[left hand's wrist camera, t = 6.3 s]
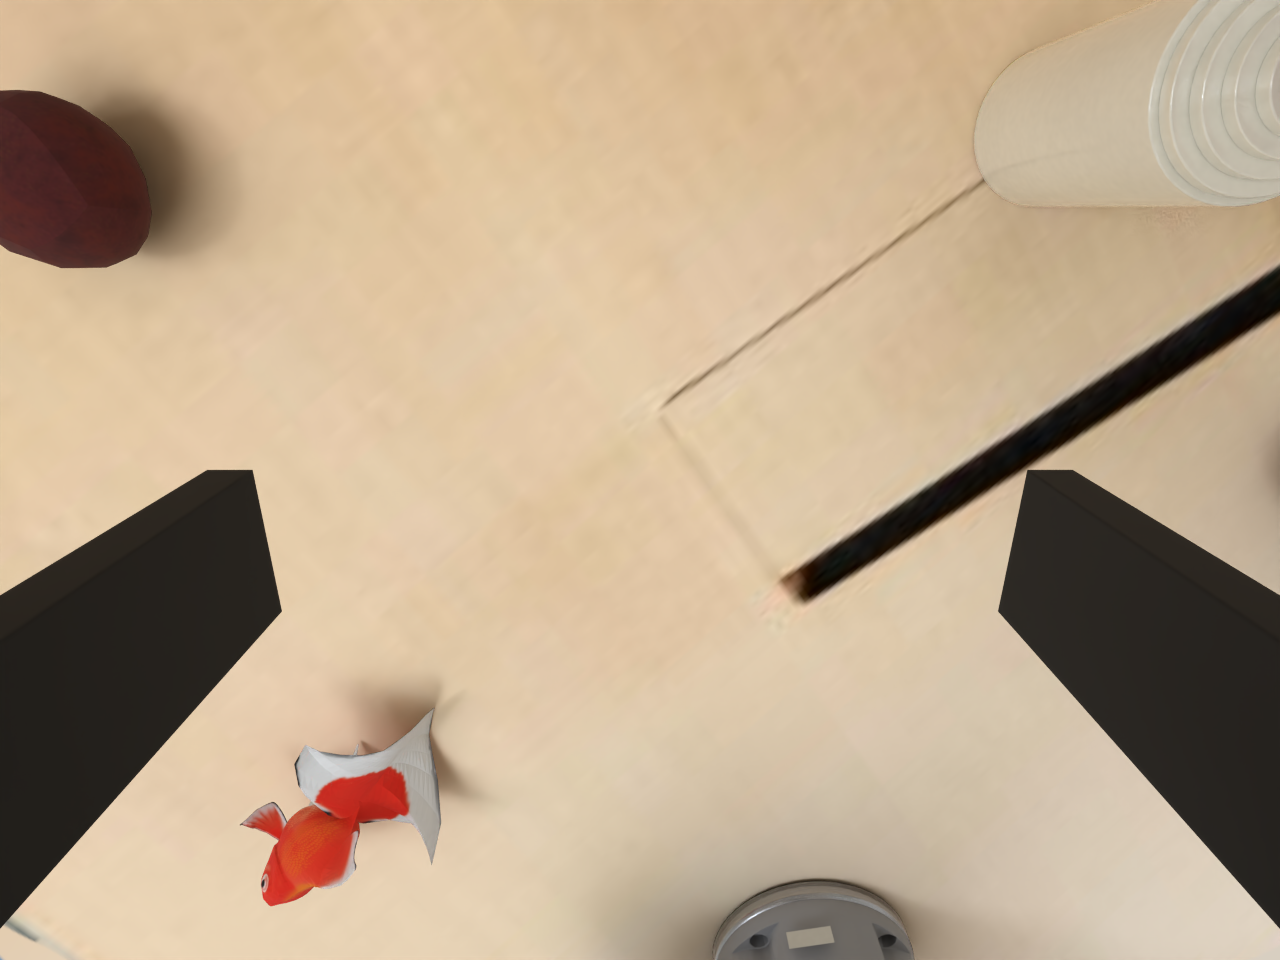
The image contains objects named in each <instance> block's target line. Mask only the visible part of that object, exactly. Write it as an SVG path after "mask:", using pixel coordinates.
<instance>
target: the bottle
mask: <svg viewBox="0 0 1280 960" xmlns="http://www.w3.org/2000/svg"><path fill="white" fill-rule="evenodd" d="M974 151H975V157H976V162H977V165H978V168H979V170H980V173H981V175H982V176H983V178H984V180H985V181H986V183H987V184H988V186H989V187H990V188H991V189H992V190H993V191H994V192H995V193H996V194H997V195H999V196H1000V197H1001V198H1003V199H1005V200H1007V201H1009V202H1010V203H1013V204H1016V205H1020V206H1025V207H1238V206H1247V205H1252V204H1256V203H1261V202H1264V201H1267V200H1270V199H1273V198H1275V197H1278V196H1280V0H1155V1H1152V2H1150V3H1147V4H1145V5H1142V6H1140V7H1137V8H1135V9H1132V10H1130V11H1127V12H1125V13H1122V14H1120V15H1117V16H1115V17H1112V18H1110V19H1107V20H1105V21H1102V22H1100V23H1098V24H1095V25H1093V26H1090V27H1088V28H1085V29H1083V30H1080V31H1078V32H1075V33H1073V34H1070V35H1068V36H1065V37H1063V38H1060V39H1058V40H1055V41H1053V42H1050V43H1048V44H1045V45H1043V46H1040V47H1038V48H1036V49H1033V50H1031V51H1029V52H1027V53H1026V54H1024V55H1022V56H1021V57H1019V58H1018V59H1016V60H1015V61H1014V62H1012V63H1011V64H1010V65H1009V66H1008V67H1007V68H1006V69H1005V70H1004V71H1003V72H1002V73H1001V74H1000V75H999V77H998V78H997V79H996V80H995V82H994V83H993V85H992V86H991V87H990V89H989V91H988V92H987V94H986V96H985V98H984V100H983V102H982V105H981V107H980V110H979V113H978V117H977V120H976V126H975V131H974Z"/></svg>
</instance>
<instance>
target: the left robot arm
mask: <svg viewBox="0 0 1280 960" xmlns="http://www.w3.org/2000/svg"><path fill="white" fill-rule="evenodd" d="M281 612H282V610H281V605H280V600H279V595H278V590H277V586H276V581H275V576H274V571H273V566H272V562H271V557H270V552H269V547H268V542H267V537H266V533H265V528H264V523H263V518H262V513H261V509H260V504H259V499H258V494H257V489H256V484H255V480H254V475H253V470H207V471H205V472H203V473H202V474H200V475H198V476H197V477H195V478H193V479H192V480H190V481H188V482H187V483H185V484H183V485H182V486H180V487H178V488H177V489H175V490H173V491H172V492H170V493H169V494H167V495H165V496H164V497H162V498H160V499H159V500H157V501H155V502H154V503H152V504H150V505H149V506H147V507H145V508H144V509H142V510H140V511H139V512H137V513H136V514H134V515H132V516H131V517H129V518H127V519H126V520H124V521H122V522H121V523H119V524H117V525H116V526H114V527H112V528H111V529H109V530H107V531H106V532H104V533H103V534H101V535H99V536H98V537H96V538H94V539H93V540H91V541H89V542H88V543H86V544H84V545H83V546H81V547H79V548H78V549H76V550H74V551H73V552H71V553H69V554H68V555H66V556H65V557H63V558H61V559H60V560H58V561H56V562H55V563H53V564H51V565H50V566H48V567H46V568H45V569H43V570H41V571H40V572H38V573H36V574H35V575H33V576H32V577H30V578H28V579H27V580H25V581H23V582H22V583H20V584H18V585H17V586H15V587H13V588H12V589H10V590H8V591H7V592H5V593H3V594H2V595H0V928H1V927H2V926H3V925H4V924H5V923H6V921H7V920H8V919H9V918H10V917H11V916H12V915H13V914H14V912H15V911H16V910H17V909H18V908H19V907H20V906H21V905H22V903H23V902H24V901H25V900H26V899H27V898H28V897H29V896H30V894H31V893H32V892H33V891H34V890H35V889H36V888H37V887H38V885H39V884H40V883H41V882H42V881H43V880H44V879H45V878H46V876H47V875H48V874H49V873H50V872H51V871H52V870H53V868H54V867H55V866H56V865H57V864H58V863H59V862H60V861H61V859H62V858H63V857H64V856H65V855H66V854H67V853H68V852H69V850H70V849H71V848H72V847H73V846H74V845H75V844H76V843H77V841H78V840H79V839H80V838H81V837H82V836H83V835H84V834H85V832H86V831H87V830H88V829H89V828H90V827H91V826H92V825H93V823H94V822H95V821H96V820H97V819H98V818H99V817H100V816H101V814H102V813H103V812H104V811H105V810H106V809H107V808H108V807H109V805H110V804H111V803H112V802H113V801H114V800H115V799H116V798H117V796H118V795H119V794H120V793H121V792H122V791H123V790H124V789H125V787H126V786H127V785H128V784H129V783H130V782H131V781H132V780H133V778H134V777H135V776H136V775H137V774H138V773H139V772H140V771H141V769H142V768H143V767H144V766H145V765H146V764H147V763H148V761H149V760H150V759H151V758H152V757H153V756H154V755H155V754H156V752H157V751H158V750H159V749H160V748H161V747H162V746H163V745H164V743H165V742H166V741H167V740H168V739H169V738H170V737H171V736H172V734H173V733H174V732H175V731H176V730H177V729H178V728H179V727H180V725H181V724H182V723H183V722H184V721H185V720H186V719H187V718H188V716H189V715H190V714H191V713H192V712H193V711H194V710H195V709H196V707H197V706H198V705H199V704H200V703H201V702H202V701H203V700H204V698H205V697H206V696H207V695H208V694H209V693H210V692H211V691H212V689H213V688H214V687H215V686H216V685H217V684H218V683H219V682H220V680H221V679H222V678H223V677H224V676H225V675H226V674H227V673H228V671H229V670H230V669H231V668H232V667H233V666H234V665H235V664H236V662H237V661H238V660H239V659H240V658H241V657H242V656H243V654H244V653H245V652H246V651H247V650H248V649H249V648H250V647H251V645H252V644H253V643H254V642H255V641H256V640H257V639H258V638H259V636H260V635H261V634H262V633H263V632H264V631H265V630H266V629H267V627H268V626H269V625H270V624H271V623H272V622H273V621H274V620H275V618H276V617H277V616H278V615H279V614H280V613H281ZM998 612H999V613H1000V614H1001V615H1002V616H1003V617H1004V618H1005V620H1006V621H1007V622H1008V623H1009V624H1010V625H1011V626H1012V627H1013V629H1014V630H1015V631H1016V632H1017V633H1018V634H1019V635H1020V636H1021V638H1022V639H1023V640H1024V641H1025V642H1026V643H1027V644H1028V645H1029V647H1030V648H1031V649H1032V650H1033V651H1034V652H1035V653H1036V654H1037V656H1038V657H1039V658H1040V659H1041V660H1042V661H1043V662H1044V664H1045V665H1046V666H1047V667H1048V668H1049V669H1050V670H1051V671H1052V673H1053V674H1054V675H1055V676H1056V677H1057V678H1058V679H1059V680H1060V682H1061V683H1062V684H1063V685H1064V686H1065V687H1066V688H1067V689H1068V691H1069V692H1070V693H1071V694H1072V695H1073V696H1074V697H1075V698H1076V700H1077V701H1078V702H1079V703H1080V704H1081V705H1082V706H1083V707H1084V709H1085V710H1086V711H1087V712H1088V713H1089V714H1090V715H1091V716H1092V718H1093V719H1094V720H1095V721H1096V722H1097V723H1098V724H1099V725H1100V727H1101V728H1102V729H1103V730H1104V731H1105V732H1106V733H1107V734H1108V736H1109V737H1110V738H1111V739H1112V740H1113V741H1114V742H1115V743H1116V745H1117V746H1118V747H1119V748H1120V749H1121V750H1122V751H1123V752H1124V754H1125V755H1126V756H1127V757H1128V758H1129V759H1130V760H1131V761H1132V763H1133V764H1134V765H1135V766H1136V767H1137V768H1138V769H1139V771H1140V772H1141V773H1142V774H1143V775H1144V776H1145V777H1146V778H1147V780H1148V781H1149V782H1150V783H1151V784H1152V785H1153V786H1154V787H1155V789H1156V790H1157V791H1158V792H1159V793H1160V794H1161V795H1162V796H1163V798H1164V799H1165V800H1166V801H1167V802H1168V803H1169V804H1170V805H1171V807H1172V808H1173V809H1174V810H1175V811H1176V812H1177V813H1178V814H1179V816H1180V817H1181V818H1182V819H1183V820H1184V821H1185V822H1186V823H1187V825H1188V826H1189V827H1190V828H1191V829H1192V830H1193V831H1194V832H1195V834H1196V835H1197V836H1198V837H1199V838H1200V839H1201V840H1202V841H1203V843H1204V844H1205V845H1206V846H1207V847H1208V848H1209V849H1210V850H1211V852H1212V853H1213V854H1214V855H1215V856H1216V857H1217V858H1218V859H1219V861H1220V862H1221V863H1222V864H1223V865H1224V866H1225V867H1226V868H1227V870H1228V871H1229V872H1230V873H1231V874H1232V875H1233V876H1234V877H1235V879H1236V880H1237V881H1238V882H1239V883H1240V884H1241V885H1242V887H1243V888H1244V889H1245V890H1246V891H1247V892H1248V893H1249V894H1250V896H1251V897H1252V898H1253V899H1254V900H1255V901H1256V902H1257V903H1258V905H1259V906H1260V907H1261V908H1262V909H1263V910H1264V911H1265V912H1266V914H1267V915H1268V916H1269V917H1270V918H1271V919H1272V920H1273V921H1274V923H1275V924H1276V925H1277V926H1278V927H1279V928H1280V595H1278V594H1277V593H1275V592H1273V591H1272V590H1270V589H1268V588H1267V587H1265V586H1263V585H1262V584H1260V583H1258V582H1257V581H1255V580H1253V579H1252V578H1250V577H1248V576H1247V575H1245V574H1244V573H1242V572H1240V571H1239V570H1237V569H1235V568H1234V567H1232V566H1230V565H1229V564H1227V563H1225V562H1224V561H1222V560H1220V559H1219V558H1217V557H1215V556H1214V555H1212V554H1211V553H1209V552H1207V551H1206V550H1204V549H1202V548H1201V547H1199V546H1197V545H1196V544H1194V543H1192V542H1191V541H1189V540H1187V539H1186V538H1184V537H1182V536H1181V535H1179V534H1177V533H1176V532H1174V531H1173V530H1171V529H1169V528H1168V527H1166V526H1164V525H1163V524H1161V523H1159V522H1158V521H1156V520H1154V519H1153V518H1151V517H1149V516H1148V515H1146V514H1144V513H1143V512H1141V511H1140V510H1138V509H1136V508H1135V507H1133V506H1131V505H1130V504H1128V503H1126V502H1125V501H1123V500H1121V499H1120V498H1118V497H1116V496H1115V495H1113V494H1111V493H1110V492H1108V491H1107V490H1105V489H1103V488H1102V487H1100V486H1098V485H1097V484H1095V483H1093V482H1092V481H1090V480H1088V479H1087V478H1085V477H1083V476H1082V475H1080V474H1078V473H1077V472H1075V471H1073V470H1027V475H1026V480H1025V484H1024V489H1023V494H1022V499H1021V504H1020V509H1019V513H1018V518H1017V523H1016V528H1015V533H1014V537H1013V542H1012V547H1011V552H1010V557H1009V562H1008V566H1007V571H1006V576H1005V581H1004V586H1003V590H1002V595H1001V600H1000V605H999V610H998ZM713 960H914V954H913V949H912V946H911V943H910V940H909V937H908V935H907V932H906V929H905V926H904V924H903V922H902V920H901V918H900V917H899V915H898V914H897V913H896V912H895V910H894V909H893V908H892V907H891V906H890V905H889V904H888V903H886V902H885V901H884V900H882V899H881V898H879V897H878V896H876V895H874V894H873V893H870V892H868V891H866V890H864V889H861V888H858V887H855V886H851V885H848V884H842V883H836V882H824V881H813V882H801V883H794V884H789V885H785V886H781V887H777V888H774V889H771V890H769V891H766V892H764V893H761V894H759V895H757V896H755V897H753V898H752V899H750V900H748V901H747V902H745V903H744V904H743V905H741V906H740V907H739V908H737V909H736V910H735V911H734V912H733V913H732V914H731V915H730V916H729V917H728V918H727V919H726V921H725V922H724V923H723V925H722V926H721V928H720V930H719V931H718V934H717V936H716V938H715V942H714V946H713Z"/></svg>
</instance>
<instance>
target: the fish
mask: <svg viewBox="0 0 1280 960" xmlns="http://www.w3.org/2000/svg"><path fill="white" fill-rule="evenodd" d="M433 711H434V708H433V709H432V710H431V711H430V712H428V713H427V714H426V715H425V716H424V717H423V718H422V719H421V720H420V721H419V723H418V724H417V725H416V726H415V727H414V728H413V729H412V730H411V731H410V732H409V733H407V734H406V735H405V736H403V737H402V738H401V739H399V740H398V741H397V742H395V743H394V744H392V745H391V746H390V747H388V748H387V749H385V750H384V751H381V752H377V753H372V754H367V755H357V751H358V746H359V744H357V746H356V749H355V752H354V754H353V755H338V754H332V753H325V752H320V751H317V750H315V749H313V748H311V747H309V746H307V745H305V747H304V748H303V750H302V752H301V754H300V755H299V757H298V759H297V761H296V762H295V770H296V775H297V780H298V785H299V787H300V788H301V790H302V791H303V793H304V794H305V796H306V797H307V798H308V799H309V800H310V801H311V802H310V804H309V806H308V807H305V808H303V809H301V810H300V811H298V812H297V813H296V814H295V815H293V816H292V817H291V819H290V820H289V821H288V822H287V821H286V818H285V816H284V814H283V813H282V811H281V809H280V808H279V807H278V805H277V804H276V803H275V802H271V803H268V804H266V805H264V806H263V807H261V808H259V809H257V810H256V811H255V812H254V813H252V814H251V815H250V816H249V817H248V818H247V819H246V820H245V821H244V822H243V823H241V824H240V825H244V826H247V827H249V828H256V829H258V830H260V831H263V832H266V833H268V834H269V835H271V836H272V837H274V838H276V839H277V840H279V841H278V843H277V844H276V845H274V847H273V850H272V853H271V855H270V858H269V861H268V863H267V865H266V868H265V870H264V873H263V876H262V880H261V888H262V894H263V899H264V900H265V901H266V902H267V903H268V904H269V905H270V906H274V905H278V904H283V903H287V902H291V901H294V900H297V899H299V898H301V897H303V896H304V895H305V894H307V893H308V892H309V891H310V890H311V889H312V888H313V887H319V888H323V889H326V888H333V887H337V886H340V885H342V884H343V883H344V882H345V881H347V880H348V879H349V877H350V876H351V875H352V874H353V872H354V871H355V869H356V864H355V861H354V853H355V848H356V844H357V840H358V837H359V834H360V828H359V823H370V822H377V821H384V820H393V821H398V822H406V823H411V824H412V825H414V827H415V828H416V829H417V830H418V831H419V833H420V834H421V836H422V838H423V840H424V843H425V845H426V847H427V850H428V853H429V856H430V860H431V865H432V862H433V857H434V853H435V848H436V844H437V839H438V834H439V830H440V825H441V816H440V803H439V790H438V780H437V775H436V770H435V765H434V759H433V754H432V748H431V742H430V737H429V731H430V726H431V721H432V715H433ZM358 822H359V823H358Z"/></svg>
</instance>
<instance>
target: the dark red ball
mask: <svg viewBox="0 0 1280 960" xmlns="http://www.w3.org/2000/svg"><path fill="white" fill-rule="evenodd" d="M151 213H152V212H151V206H150V201H149V195H148V190H147V184H146V179H145V177H144V175H143V172H142V170H141V168H140V166H139V164H138V162H137V160H136V158H135V156H134V154H133V152H132V150H131V148H130V146H129V145H128V144H127V143H126V142H125V141H124V140H123V139H122V138H121V137H120V136H119V135H118V134H117V133H116V132H115V131H114V130H113V129H112V128H111V127H109V126H108V125H107V124H105V123H104V122H102V121H101V120H99V119H98V118H97V117H95V116H94V115H92V114H91V113H89V112H88V111H86V110H85V109H83V108H82V107H80V106H78V105H75V104H73V103H70V102H68V101H65V100H63V99H60V98H57V97H54V96H51V95H49V94H46V93H43V92H39V91H24V90H6V91H0V245H2V246H3V247H4V248H6V249H7V250H9V251H10V252H13V253H16V254H20V255H23V256H26V257H29V258H32V259H35V260H38V261H41V262H44V263H47V264H51V265H54V266H57V267H60V268H102V267H109V266H111V265H114V264H116V263H119V262H121V261H123V260H125V259H127V258H129V257H132V256H134V255H136V254H137V252H138V251H139V249H140V248H141V246H142V245H143V243H144V242H145V240H146V239H147V237H148V233H149V227H150V220H151Z"/></svg>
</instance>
